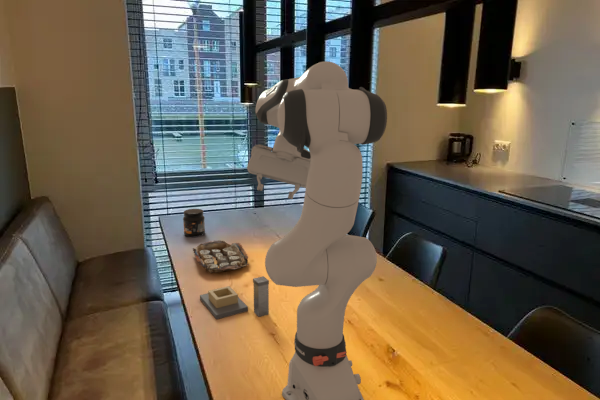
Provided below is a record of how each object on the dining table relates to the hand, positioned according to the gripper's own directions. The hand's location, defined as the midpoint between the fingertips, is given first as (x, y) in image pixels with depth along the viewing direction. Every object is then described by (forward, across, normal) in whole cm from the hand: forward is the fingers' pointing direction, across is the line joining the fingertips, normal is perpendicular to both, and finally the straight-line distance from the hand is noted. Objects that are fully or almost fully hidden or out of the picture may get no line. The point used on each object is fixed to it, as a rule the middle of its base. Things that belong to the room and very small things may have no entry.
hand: (274, 194), depth 128 cm
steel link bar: (+34, +5, +23) cm, 42 cm away
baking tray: (+20, -18, +62) cm, 68 cm away
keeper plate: (+35, -8, +29) cm, 46 cm away
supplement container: (+8, -40, +96) cm, 104 cm away
